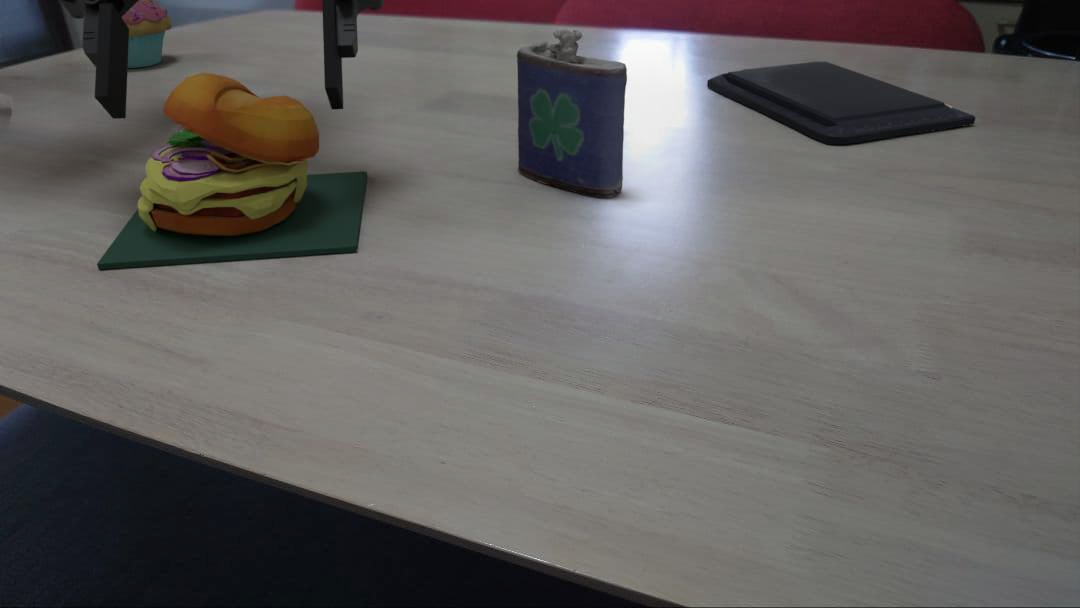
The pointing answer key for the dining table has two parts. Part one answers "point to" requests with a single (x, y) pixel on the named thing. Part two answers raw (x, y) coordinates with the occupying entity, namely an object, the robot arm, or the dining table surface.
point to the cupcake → (146, 33)
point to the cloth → (310, 229)
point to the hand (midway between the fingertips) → (224, 104)
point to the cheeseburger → (228, 160)
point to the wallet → (836, 102)
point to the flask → (571, 117)
